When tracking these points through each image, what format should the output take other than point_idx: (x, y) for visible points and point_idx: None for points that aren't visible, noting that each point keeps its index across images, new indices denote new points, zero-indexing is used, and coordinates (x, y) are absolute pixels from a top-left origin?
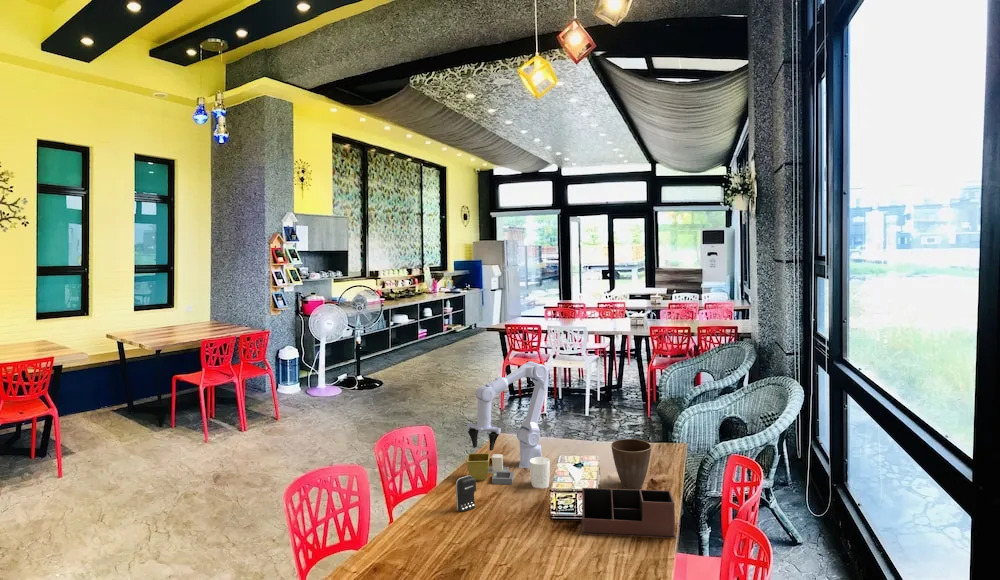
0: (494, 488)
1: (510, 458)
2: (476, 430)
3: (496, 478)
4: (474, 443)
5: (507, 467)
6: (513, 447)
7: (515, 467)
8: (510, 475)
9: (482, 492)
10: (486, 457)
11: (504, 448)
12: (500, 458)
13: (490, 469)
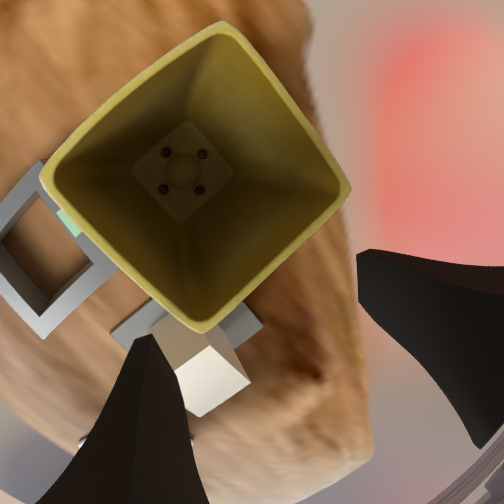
0: (15, 137)
1: (252, 431)
2: (500, 408)
3: (22, 185)
4: (391, 275)
5: None
6: (307, 461)
7: None
8: (5, 283)
9: (37, 55)
10: (209, 292)
11: (326, 442)
12: None
13: None
